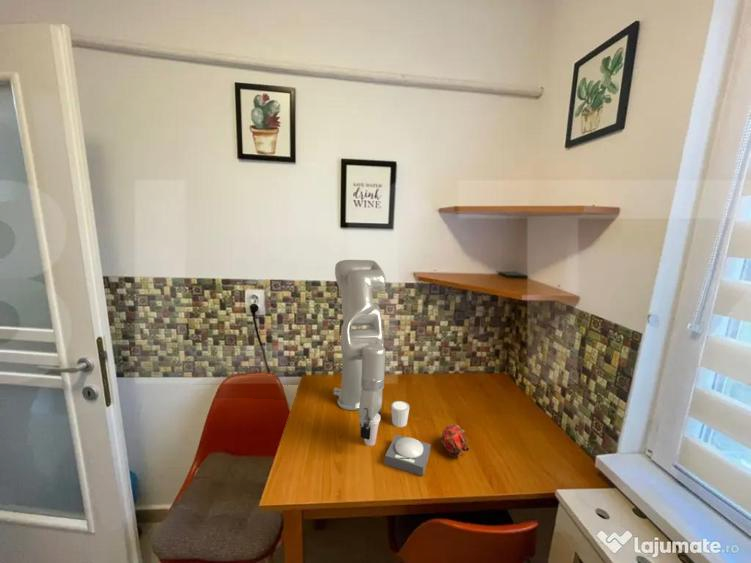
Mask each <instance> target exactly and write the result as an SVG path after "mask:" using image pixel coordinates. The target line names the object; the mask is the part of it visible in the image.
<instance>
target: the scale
mask: <svg viewBox="0 0 751 563" xmlns="http://www.w3.org/2000/svg"><path fill="white" fill-rule="evenodd" d="M431 447H432V444H430V443H427V442H425V441H419V440H418V439H417V438H413V437H410V436H409V437H406V436H402V435H399V434H395V435H394V437H393V440H392V441H391V443H390V445H389V447H388V449H387V451H386V453H385V456H384V465H386V466H389V467H392V468H395V469H398V470H402V471H405V472H407V473H410V474H414V475H417V476H420V477H423V476H424V474H425V470H426V468H427V464H428V461H429V458H430V455H431Z"/></svg>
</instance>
